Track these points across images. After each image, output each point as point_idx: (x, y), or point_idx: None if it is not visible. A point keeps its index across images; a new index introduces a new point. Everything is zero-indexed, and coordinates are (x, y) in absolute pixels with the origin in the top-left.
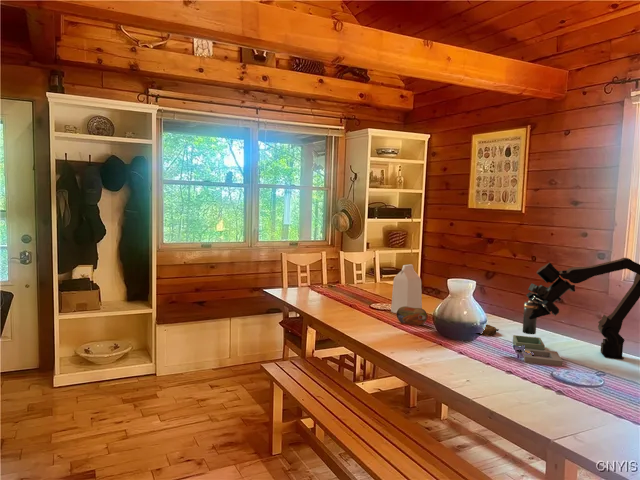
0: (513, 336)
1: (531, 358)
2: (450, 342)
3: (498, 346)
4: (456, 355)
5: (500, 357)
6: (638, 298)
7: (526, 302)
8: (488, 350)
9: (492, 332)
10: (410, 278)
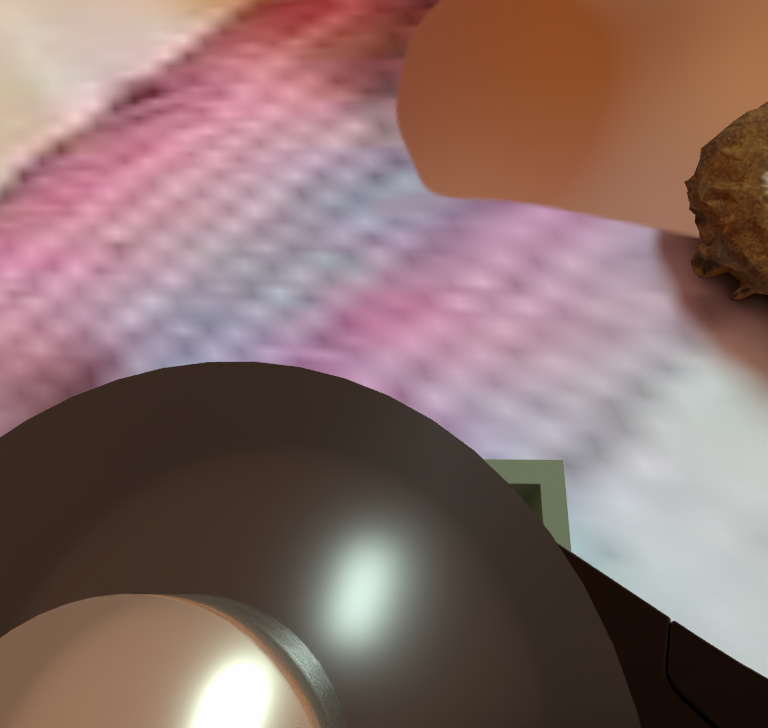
0: (531, 462)
1: None
2: (357, 28)
3: (373, 336)
4: (84, 77)
5: (79, 333)
6: None
7: (260, 488)
8: (236, 256)
9: (751, 285)
10: None
